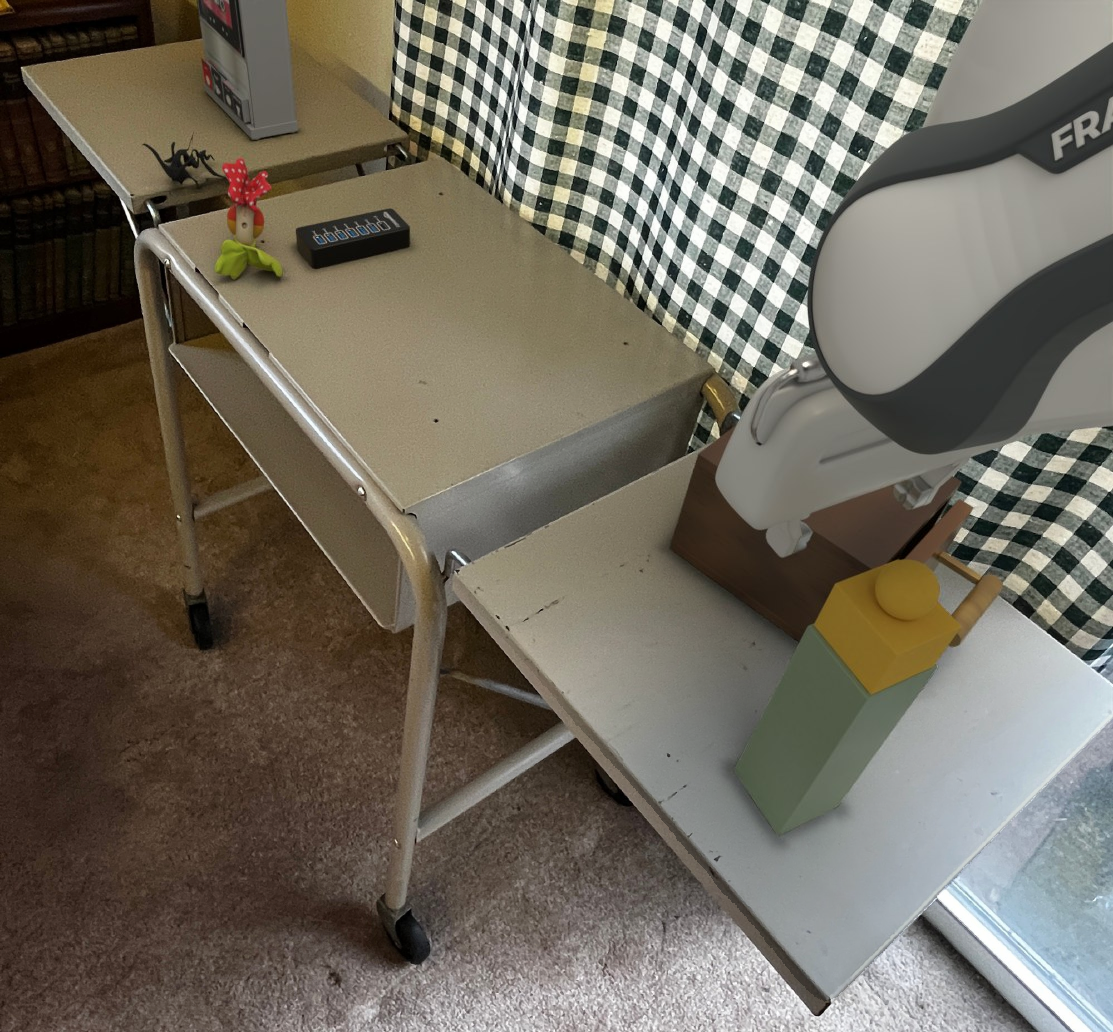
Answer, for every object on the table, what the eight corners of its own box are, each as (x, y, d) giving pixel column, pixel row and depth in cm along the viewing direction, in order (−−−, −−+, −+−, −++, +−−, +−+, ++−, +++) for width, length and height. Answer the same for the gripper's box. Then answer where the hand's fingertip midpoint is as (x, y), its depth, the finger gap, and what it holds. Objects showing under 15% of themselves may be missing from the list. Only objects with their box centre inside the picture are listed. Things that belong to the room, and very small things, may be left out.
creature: (180, 166, 109) (136, 181, 102) (178, 117, 106) (133, 129, 99) (243, 183, 108) (203, 200, 101) (242, 134, 105) (201, 148, 98)
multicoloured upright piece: (215, 271, 97) (216, 287, 89) (198, 155, 93) (197, 161, 85) (278, 268, 99) (285, 283, 91) (265, 154, 95) (270, 159, 87)
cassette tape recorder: (203, 93, 119) (167, -143, 101) (250, 85, 122) (222, -146, 104) (250, 142, 112) (220, -103, 94) (298, 133, 115) (278, -106, 97)
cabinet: (908, 571, 77) (962, 481, 70) (826, 662, 70) (877, 572, 62) (758, 473, 83) (793, 381, 75) (668, 548, 76) (697, 453, 68)
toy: (933, 667, 50) (986, 593, 46) (870, 695, 49) (918, 621, 44) (874, 600, 53) (918, 524, 48) (812, 625, 51) (852, 548, 47)
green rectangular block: (838, 806, 62) (938, 666, 50) (777, 836, 60) (867, 699, 48) (792, 743, 65) (877, 597, 53) (732, 770, 63) (807, 625, 51)
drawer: (983, 616, 73) (1036, 544, 67) (914, 706, 67) (965, 635, 61) (785, 487, 81) (816, 412, 75) (705, 557, 74) (732, 480, 68)
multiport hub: (295, 247, 98) (293, 227, 97) (392, 226, 103) (392, 207, 102) (313, 270, 96) (312, 249, 94) (411, 247, 101) (411, 227, 99)
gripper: (818, 415, 39) (733, 621, 49) (1140, 318, 47) (1010, 512, 57) (729, 326, 42) (667, 535, 52) (1043, 251, 50) (937, 444, 60)
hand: (848, 522), depth 54 cm, fingers open, 8 cm apart
